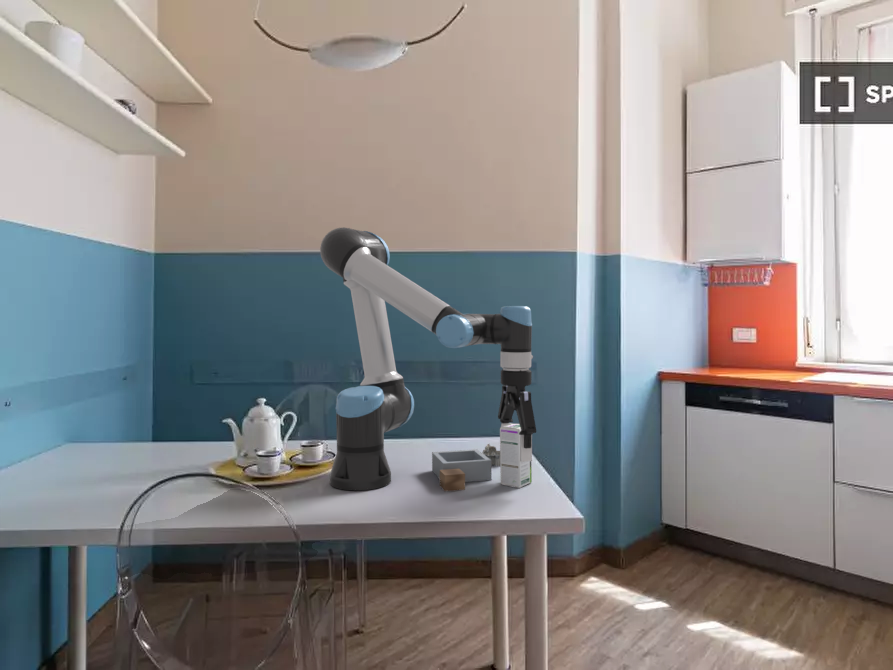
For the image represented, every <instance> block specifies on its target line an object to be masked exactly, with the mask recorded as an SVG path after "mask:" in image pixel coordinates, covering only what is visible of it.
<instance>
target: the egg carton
mask: <svg viewBox="0 0 893 670" xmlns="http://www.w3.org/2000/svg"><path fill="white" fill-rule="evenodd" d="M481 453H483V454H484V455H485V456H486V457H488V458H489V459H490V460H491V466H492V465H493V466H495V467H500V450H497V448H496V446H494V445H491V444H490V443H488V444H486V445H485V447H484V449H483V451H482V452H481Z"/></svg>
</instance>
